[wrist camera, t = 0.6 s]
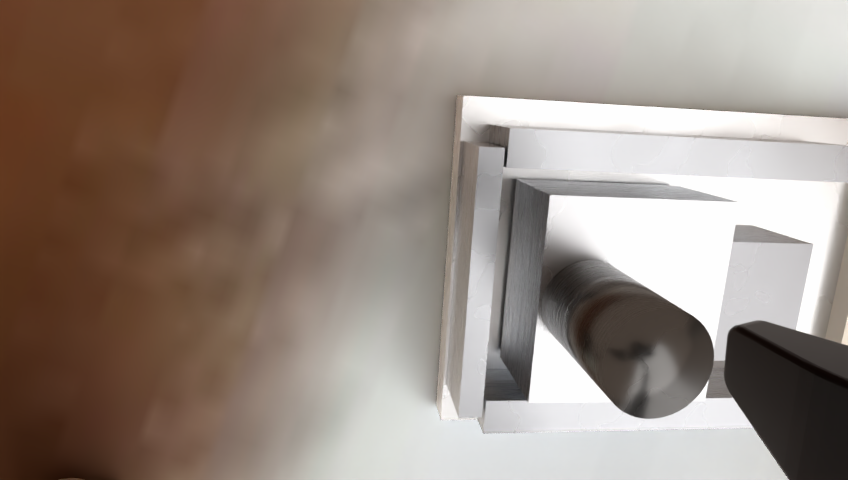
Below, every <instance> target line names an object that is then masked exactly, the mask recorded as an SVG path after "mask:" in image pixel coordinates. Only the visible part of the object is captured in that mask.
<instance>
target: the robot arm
mask: <svg viewBox="0 0 848 480" xmlns="http://www.w3.org/2000/svg"><path fill="white" fill-rule="evenodd" d="M724 380H725V384H726V387H727V389H728V391H729V393H730V394H731V396H732V397H733V399H734V400H735V402H736V403H737V405H738V406H739V408H740V409H741V410H742V412H743V413H744V415H745V416H746V418H747V419H748V421H749V422H750V424H751V425H752V427H753V428H754V430H755V431H756V432H757V434H758V435H759V437H760V438H761V440H762V441H763V443H764V444H765V446H766V447H767V449H768V450H769V451H770V453H771V454H772V456H773V457H774V459H775V460H776V462H777V463H778V465H779V466H780V468H781V469H782V470H783V472H784V473H785V475H786V476H787V477H788V479H789V480H848V345H845V344H841V343H838V342H835V341H831V340H828V339H824V338H821V337H818V336H814V335H811V334H807V333H804V332H801V331H797V330H794V329H791V328H787V327H784V326H780V325H777V324H774V323H770V322H767V321H763V320H755V321H751V322H747V323H743V324H738V325H735V326H733V327H732V328H731V329H730V330H729V332H728V335H727V344H726V354H725V365H724Z"/></svg>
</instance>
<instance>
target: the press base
mask: <svg viewBox="0 0 848 480" xmlns="http://www.w3.org/2000/svg"><path fill="white" fill-rule="evenodd" d="M516 179H524V180H549V181H573V182H598V183H622V184H647V185H671V186H681V187H685V188H688V189H692V190H696V191H700V192H703V193H707V194H711V195H715V196H718V197H722V198H726V199H730V200H733V201H737V202H739V208H738V214H737V220H736V225H754V226H757V227H760V228H764V229H767V230H770V231H773V232H776V233H780V234H783V235H786V236H789V237H792V238H795V239H799V240H802V241H805V242H808V243H811V244H814V245H813V250H812V254H811V259H810V264H809V269H808V274H807V279H806V284H805V289H804V294H803V298H802V303H801V308H800V313H799V318H798V323H797V328H796V330H797V331H801V332H804V333H807V334H811V335H814V336H818V337H821V338H824V339H825V336H826V332H827V327H828V323H829V318H830V313H831V309H832V304H833V299H834V295H835V290H836V286H837V281H838V276H839V272H840V267H841V262H842V258H843V253H844V249H845V244H846V239H847V235H848V119H845V118H828V117H812V116H795V115H779V114H762V113H745V112H729V111H712V110H696V109H679V108H662V107H646V106H629V105H612V104H596V103H579V102H563V101H546V100H529V99H513V98H496V97H480V96H457V100H456V115H455V130H454V145H453V160H452V175H451V190H450V205H449V219H448V234H447V249H446V264H445V279H444V294H443V309H442V324H441V339H440V354H439V369H438V384H437V399H436V406H437V409H438V413H439V416H440V419H441V420H478V422H479V424H480V427H481V429H482V431H483V433H529V432H579V431H628V430H678V429H727V428H753V427H752V425H751V424H750V422H749V421H748V419H747V418H746V416H745V415H744V413H743V412H742V410H741V409H740V408H739V406H738V405H737V403H736V402H735V400H734V399H733V397H732V396H731V394H730V393H729V391H728V389H727V387H726V384H725V380H724V365H725V361H714V363H713V368H712V372H711V375H710V378H709V381H708V386H707V392H706V398H705V401H692V402H691V403H690V404H689V405H688V406H686V407H685V408H683V409H682V410H680V411H678V412H676V413H674V414H672V415H669V416H666V417H662V418H656V419H643V418H637V417H634V416H631V415H628V414H626V413H624V412H623V411H621V410H620V409H618V408H617V407H616V406H615V405H614V404H613V403H612V402H576V403H528V402H527V400H526V398H525V397H524V395H523V394H522V392H521V390H520V389H519V387H518V385H517V384H516V382H515V380H514V379H513V377H512V376H511V374H510V372H509V371H508V369H507V367H506V366H505V364H504V363H503V361H502V359H501V358H500V353H501V342H502V331H503V320H504V309H505V298H506V287H507V276H508V265H509V254H510V243H511V232H512V221H513V210H514V199H515V188H516Z"/></svg>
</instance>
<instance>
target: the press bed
mask: <svg viewBox="0 0 848 480" xmlns="http://www.w3.org/2000/svg"><path fill="white" fill-rule="evenodd" d="M825 339H828V340H831V341H835V342H838V343H841V344H845V345H848V235H847V239H846V244H845V249H844V253H843V258H842V262H841V267H840V272H839V276H838V281H837V286H836V290H835V295H834V299H833V304H832V309H831V313H830V318H829V323H828V327H827V332H826V336H825Z"/></svg>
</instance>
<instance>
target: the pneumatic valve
mask: <svg viewBox="0 0 848 480" xmlns="http://www.w3.org/2000/svg"><path fill="white" fill-rule="evenodd" d="M60 480H83V479H79V478H65V479H60Z"/></svg>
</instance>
